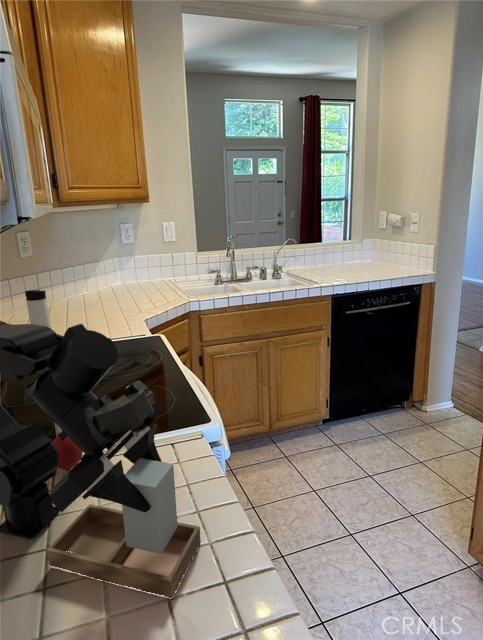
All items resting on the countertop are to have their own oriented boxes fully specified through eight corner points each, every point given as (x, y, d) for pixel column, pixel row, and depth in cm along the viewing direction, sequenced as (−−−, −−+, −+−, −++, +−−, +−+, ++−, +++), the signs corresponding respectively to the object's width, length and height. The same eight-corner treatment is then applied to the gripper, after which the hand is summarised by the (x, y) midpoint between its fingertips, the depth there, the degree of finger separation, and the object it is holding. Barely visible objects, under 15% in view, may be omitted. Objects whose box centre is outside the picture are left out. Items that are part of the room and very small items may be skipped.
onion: (74, 457, 85) (69, 420, 82) (90, 467, 81) (85, 429, 79) (45, 471, 80) (39, 432, 78) (61, 483, 77) (55, 443, 75)
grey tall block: (126, 546, 57) (119, 480, 54) (145, 519, 61) (139, 458, 59) (160, 554, 55) (155, 487, 53) (177, 526, 60) (173, 463, 57)
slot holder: (50, 568, 59) (46, 550, 58) (91, 520, 68) (89, 504, 67) (172, 600, 54) (170, 581, 53) (200, 544, 62) (199, 526, 62)
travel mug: (29, 347, 149) (19, 290, 144) (42, 341, 155) (34, 287, 150) (44, 349, 147) (34, 291, 142) (57, 342, 154) (49, 287, 148)
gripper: (57, 407, 44) (162, 517, 44) (146, 347, 62) (222, 427, 61) (8, 461, 49) (103, 562, 49) (104, 392, 66) (175, 466, 66)
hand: (158, 496), depth 56 cm, fingers closed on grey tall block, 5 cm apart
